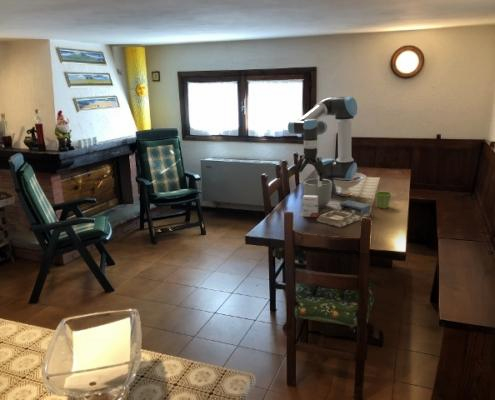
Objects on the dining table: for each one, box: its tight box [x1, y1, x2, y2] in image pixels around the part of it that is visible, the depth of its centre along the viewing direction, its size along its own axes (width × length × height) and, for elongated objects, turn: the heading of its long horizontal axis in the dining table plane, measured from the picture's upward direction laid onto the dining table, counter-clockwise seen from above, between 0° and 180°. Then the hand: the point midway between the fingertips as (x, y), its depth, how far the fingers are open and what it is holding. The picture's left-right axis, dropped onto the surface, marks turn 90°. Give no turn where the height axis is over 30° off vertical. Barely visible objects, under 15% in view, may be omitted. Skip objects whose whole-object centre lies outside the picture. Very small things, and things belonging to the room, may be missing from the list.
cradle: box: [316, 207, 371, 228], centre depth 232 cm, size 28×16×4 cm, turn 131°
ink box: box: [301, 195, 319, 218], centre depth 238 cm, size 9×5×12 cm, turn 71°
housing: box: [339, 199, 371, 215], centre depth 238 cm, size 8×15×4 cm, turn 41°
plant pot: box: [375, 191, 393, 209], centre depth 248 cm, size 9×9×9 cm
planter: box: [303, 178, 332, 210], centre depth 253 cm, size 17×17×16 cm
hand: (310, 184), depth 235 cm, fingers open, 13 cm apart
